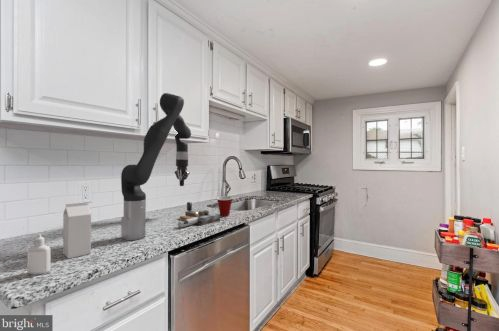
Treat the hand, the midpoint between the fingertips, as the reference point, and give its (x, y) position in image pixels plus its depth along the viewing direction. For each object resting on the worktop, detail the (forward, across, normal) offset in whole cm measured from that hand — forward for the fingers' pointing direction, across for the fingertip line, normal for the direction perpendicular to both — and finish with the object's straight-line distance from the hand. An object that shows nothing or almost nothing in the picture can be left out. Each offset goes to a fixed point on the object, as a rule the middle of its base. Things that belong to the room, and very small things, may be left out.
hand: (181, 186), depth 162 cm
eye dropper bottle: (+19, +35, -79) cm, 88 cm away
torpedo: (+19, +23, -11) cm, 32 cm away
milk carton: (+19, +26, -66) cm, 73 cm away
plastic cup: (+20, +19, +20) cm, 34 cm away
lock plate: (+19, +18, 0) cm, 26 cm away
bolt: (+17, +11, 0) cm, 20 cm away
